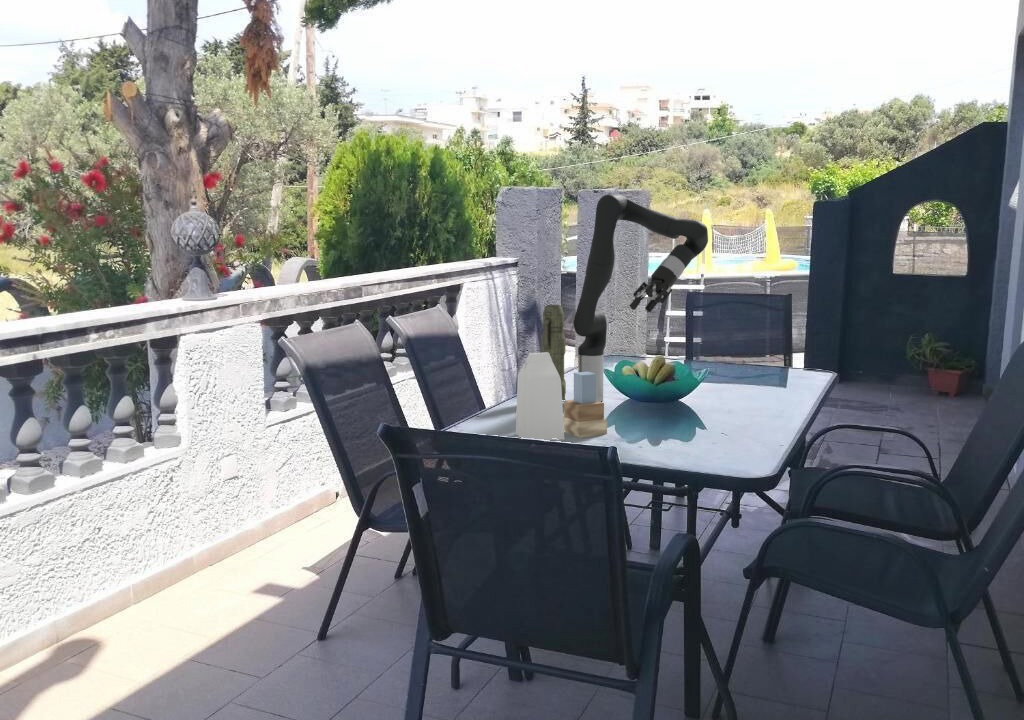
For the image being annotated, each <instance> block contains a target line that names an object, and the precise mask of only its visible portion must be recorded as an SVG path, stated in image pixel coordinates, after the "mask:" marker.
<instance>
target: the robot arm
mask: <svg viewBox="0 0 1024 720" xmlns="http://www.w3.org/2000/svg"><path fill="white" fill-rule="evenodd" d="M619 220H620V221H621V220H622V221H627V222H630V223H631V222H632V223H635V224H638V225H640V226H642V227H643V228H646V229H647V230H648V231H651V232H653V233H655V234H658V235H660V236H664V237H667V238H668V239H672V240H676V239H678V238H679V237H681V236H682V237H685V238H686V239H685V241H684V243H683V244H682V243H680V244H677V245H675V247H674V248H673V249H672V250H671V251H670V252H669V254H668V255H667V257H665V258H664V259H663V260H662V262H661V263H660V264H659V265H658V267H657V268H656V269H655V270H654V271H653V273H652V274H651V277H650V279H651V281H649V283H646V282H645V281H644V282H642V283H641V284H640V286H638V288H637V289H636V290H635V291H634V292H633V294H632V295H633V297H634V299H633V300H632V302H631V303H630V304H629V308H631V310H632V311H635V310H636V309H637V307H639V305H640V304H641V303H642V302H643V301H644V300H648V299H650V298H652V299H650V301H648V303H646V306H645V307H644V310H645V311H646V312H647V313H651V312H652V311H653V310H654V308H655V307H656V305H659V304H660V303H661V304H664V303H665V301H666V300H667V299H668V297H669V296H670V294H672V292H673V286H674V285H675V284H676V282H677V281H678V279H679V278H680V277H681V276H682V274H683V273H684V271H685V269H686V268H687V267H688V266H689V264H690V263H691V261H692V260H694V259H695V258H696V257H698V255H700V254H701V253H702V252H703V251H704V250H705V249H706V247H707V245H708V242H709V233H708V227H707V225H706V224H704V223H703V222H702V221H699V220H696V219H688V218H678V217H675V216H672V215H671V214H670V215H669V214H666V213H663V212H660V211H657V210H654V209H650V208H649V207H646V206H644V205H641V204H639V203H636V202H635V201H633V200H631V199H629V198H628V197H626V196H624V195H622V194H620V193H609V194H604V195H603V196H601V197H600V199H599V200H598V202H597V204H596V210H595V219H594V228H593V229H594V231H593V235H592V241H591V245H590V249H589V255H588V259H587V263H586V268H585V275H584V281H583V284H582V285H583V286H582V289H581V293H580V298H579V301H578V304H577V308H576V312H575V314H574V317H573V318H574V319H573V328H574V331H575V333H576V334H577V335H578V336H580V337H584V340H583V342H582V343H581V344H580V345H579V346H578V347H577V372H591V373H595V374H596V401H599V402H601V401H602V402H603V401H604V358H605V357H604V350H605V347H606V344H607V329H608V324H607V317H606V315H605V313H604V312H603V311H602V310H600V309H597V305H598V302H599V299H600V298H601V296H602V294H603V292H604V291H605V289H606V288H607V286H608V285H609V282H610V280H611V279H612V275H613V271H614V267H615V266H614V265H615V259H616V255H615V246H614V237H615V230H616V226H617V223H618V221H619Z"/></svg>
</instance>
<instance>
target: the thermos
mask: <svg viewBox="0 0 1024 720" xmlns="http://www.w3.org/2000/svg"><path fill="white" fill-rule="evenodd" d="M563 309H564V308H563V307H562V305H560V304H547V305H545V306H544V308H543V312H542V327H543V330H542V336H541V338H540V339H541V340H540V341H541V342H540V344H541V349H540V351H541V352H540V353H545V352H548V353H549V354H550V357H551V359H552V362H553V364H554V366H555V368H556V370H557V372H558V374H559V376H560V379H561V388H562V400H565V401H566V394H567V391H566V390H567V389H566V388H567V387H566V386H567V382H566V379H565V354H566V336H565V330H564V326H565V323H564V322H565V317H564V316H565V313H564V310H563Z"/></svg>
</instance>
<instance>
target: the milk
mask: <svg viewBox="0 0 1024 720" xmlns="http://www.w3.org/2000/svg"><path fill="white" fill-rule="evenodd" d="M516 387H517V388H516V413H515V414H516V415H515V416H516V417H515V435H516V434H517V435H519V436H518V438H520V437H523V438H534V439H544V440H556V441H558V440H557V439H564V440H565V432H564V423H563V416H564V405H563V402H562V388H561V379H560V376H559V374H558V372H557V370H556V368H555V366H554V364H553V362H552V359H551V357H550V354H549V353H548V352H545V353H541V352H529V354H528V355H527V358H526V359H525V362H524V364H523V366H522V367H521V369H520V370H519V373H518V375H517V385H516ZM517 435H516V436H517ZM552 438H557V439H552Z"/></svg>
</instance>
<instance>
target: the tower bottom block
mask: <svg viewBox="0 0 1024 720" xmlns="http://www.w3.org/2000/svg"><path fill="white" fill-rule="evenodd" d="M563 423H564V431H565V432H564V433H566V432H567V433H566V434H569V433H570V434H569V435H571V434H572V435H571V436H573V437H577V438H579V439H580V438H588V437H593V436H602V435H606V434H608V418H607V417H606V418H605V417H604V419H599V420H591V421H583V422H577V421H575V420H572V419H570V418H567V417H564V415H563Z"/></svg>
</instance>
